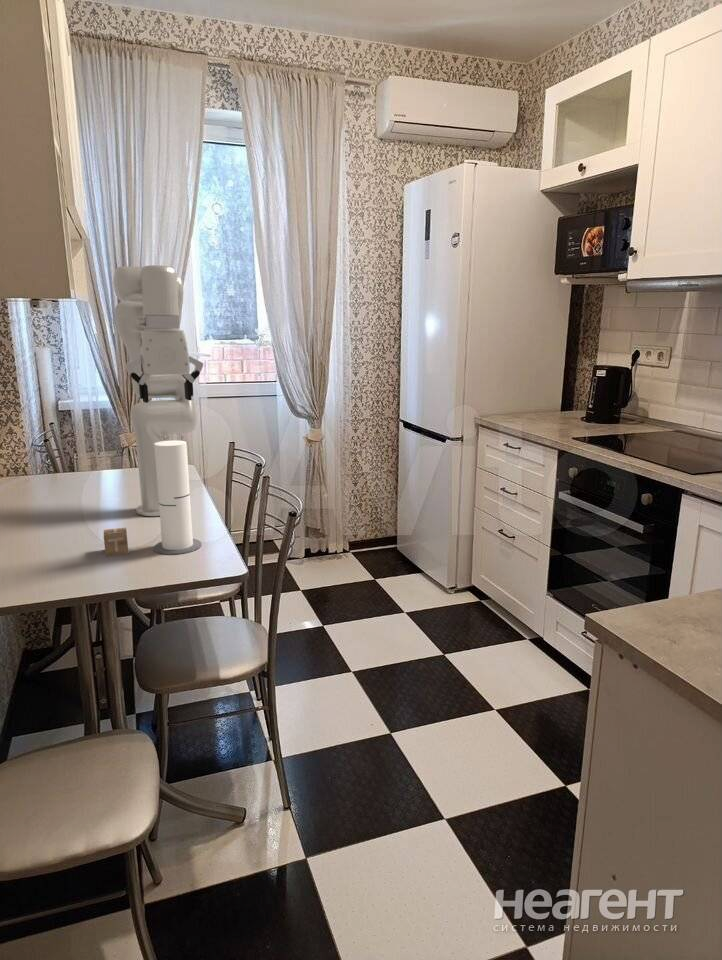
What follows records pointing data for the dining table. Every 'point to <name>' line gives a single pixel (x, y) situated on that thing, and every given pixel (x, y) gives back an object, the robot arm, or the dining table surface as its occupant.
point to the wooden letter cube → (115, 541)
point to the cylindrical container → (174, 494)
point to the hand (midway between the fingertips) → (167, 400)
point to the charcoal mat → (161, 550)
